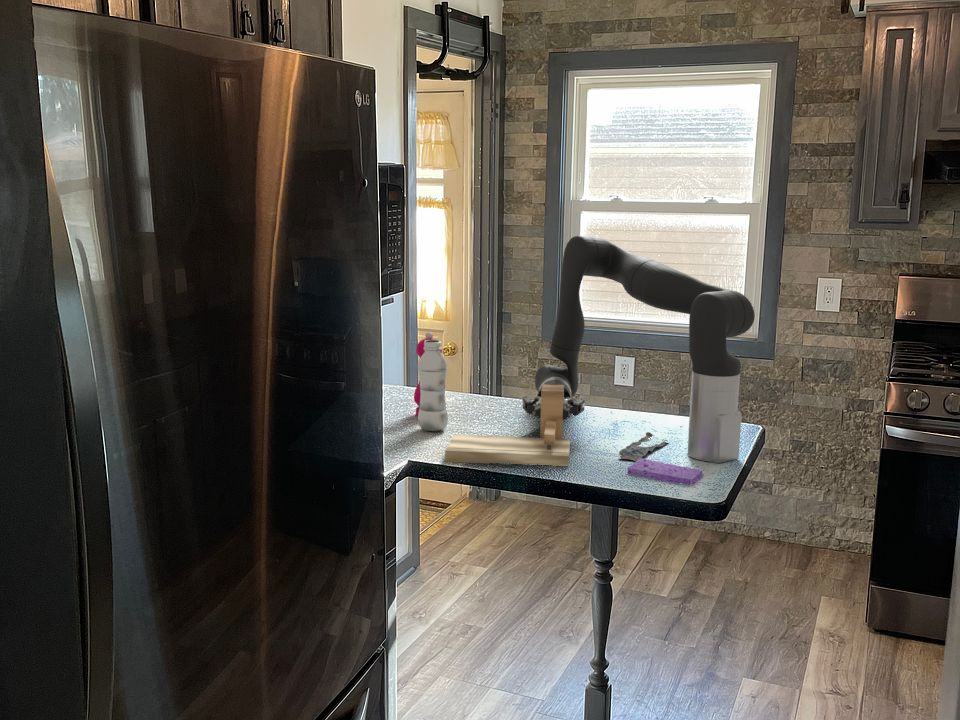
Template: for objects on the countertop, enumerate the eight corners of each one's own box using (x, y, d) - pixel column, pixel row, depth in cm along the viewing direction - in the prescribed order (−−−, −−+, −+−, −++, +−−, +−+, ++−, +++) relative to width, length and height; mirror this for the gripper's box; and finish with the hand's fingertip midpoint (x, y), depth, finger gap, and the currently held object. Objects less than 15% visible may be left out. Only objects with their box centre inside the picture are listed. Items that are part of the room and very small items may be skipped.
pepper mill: (443, 419, 203) (443, 334, 199) (412, 419, 203) (412, 334, 199) (445, 412, 210) (445, 329, 206) (415, 411, 210) (415, 329, 206)
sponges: (640, 467, 170) (640, 457, 170) (703, 478, 163) (704, 468, 163) (626, 476, 164) (626, 466, 164) (691, 488, 158) (691, 478, 157)
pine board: (454, 444, 182) (454, 434, 182) (569, 449, 179) (570, 439, 179) (445, 461, 170) (445, 450, 170) (568, 467, 168) (569, 455, 167)
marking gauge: (541, 439, 187) (542, 384, 185) (562, 440, 186) (564, 385, 184) (536, 464, 169) (538, 403, 167) (560, 465, 169) (561, 404, 167)
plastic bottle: (441, 435, 189) (442, 344, 185) (413, 432, 191) (412, 342, 187) (452, 428, 195) (452, 339, 191) (424, 425, 197) (424, 338, 193)
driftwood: (637, 466, 170) (638, 456, 170) (605, 460, 174) (606, 450, 174) (676, 444, 187) (676, 434, 187) (646, 439, 191) (647, 429, 191)
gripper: (523, 378, 197) (517, 395, 180) (587, 380, 195) (587, 397, 178) (522, 410, 198) (516, 430, 181) (585, 413, 196) (586, 433, 180)
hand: (551, 414), depth 180 cm, fingers closed on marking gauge, 4 cm apart
